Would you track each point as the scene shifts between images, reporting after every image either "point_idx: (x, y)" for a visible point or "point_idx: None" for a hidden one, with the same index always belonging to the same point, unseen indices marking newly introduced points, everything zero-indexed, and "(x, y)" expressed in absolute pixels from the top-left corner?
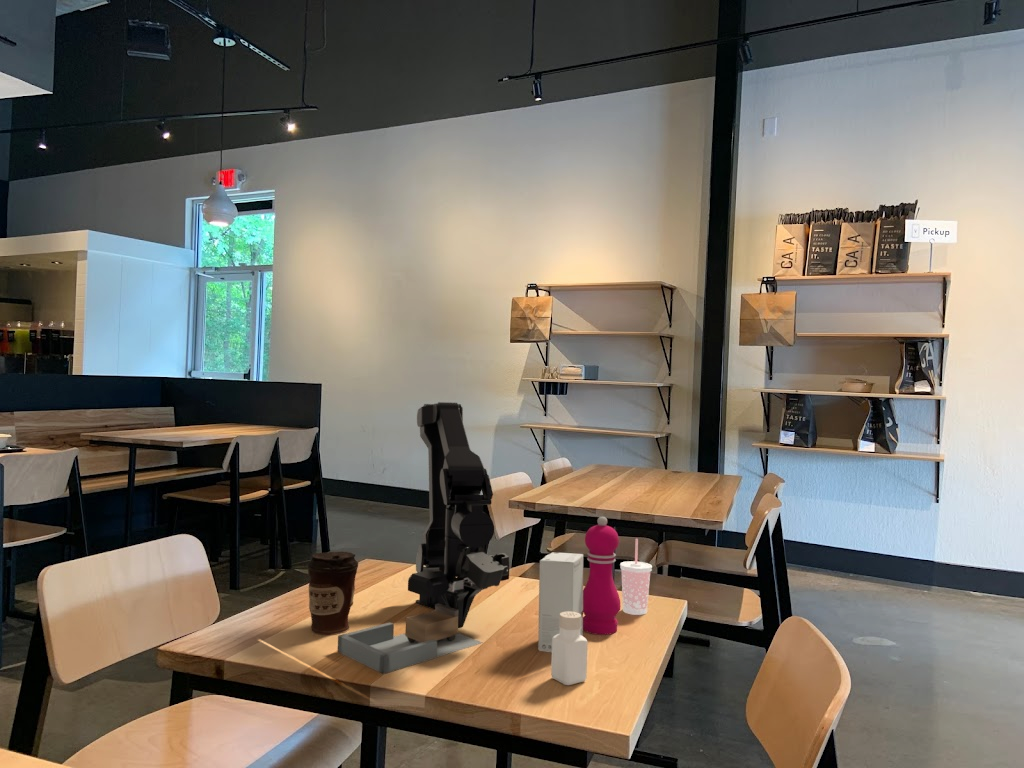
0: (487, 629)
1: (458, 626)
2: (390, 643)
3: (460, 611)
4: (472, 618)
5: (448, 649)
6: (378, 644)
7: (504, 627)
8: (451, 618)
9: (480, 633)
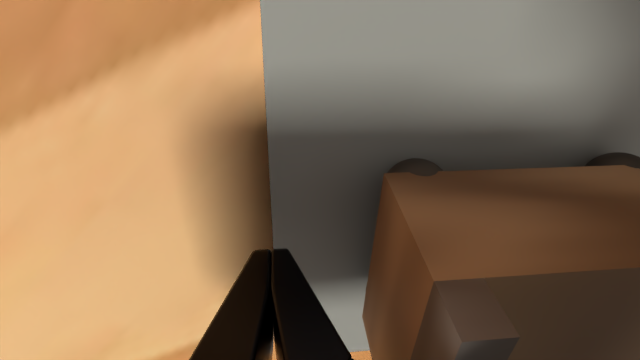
0: (29, 206)
1: (291, 259)
2: None
3: (317, 351)
4: (32, 356)
5: (559, 58)
6: None
7: None
8: (524, 271)
9: (123, 178)
